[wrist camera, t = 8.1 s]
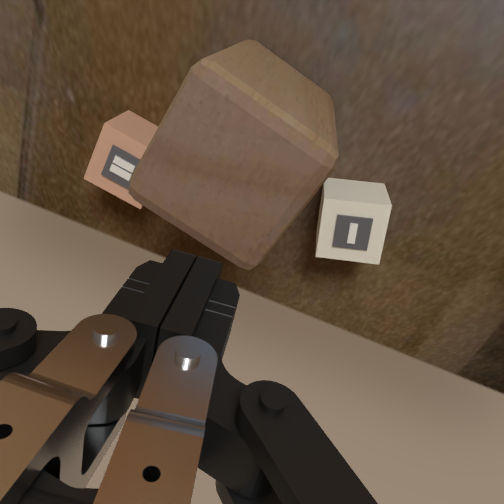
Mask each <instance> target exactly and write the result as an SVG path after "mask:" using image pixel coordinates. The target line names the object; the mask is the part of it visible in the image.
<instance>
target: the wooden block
mask: <svg viewBox="0 0 504 504" xmlns="http://www.w3.org/2000/svg"><path fill="white" fill-rule="evenodd" d="M338 157H339V153H338V144H337V134H336V124H335V114H334V104H333V100H332V99H331V97H330V95H329V94H328V93H327V92H325V91H324V90H323V89H321V88H320V87H318V86H317V85H316V84H314V83H313V82H312V81H310V80H309V79H308V78H306V77H305V76H303V75H302V74H301V73H299V72H298V71H297V70H295V69H294V68H293V67H291V66H290V65H288V64H287V63H286V62H284V61H283V60H282V59H280V58H279V57H278V56H276V55H275V54H273V53H272V52H271V51H269V50H268V49H267V48H265V47H264V46H263V45H261V44H260V43H258V42H257V41H254V40H250V39H247V40H245V41H242V42H240V43H238V44H235V45H233V46H231V47H228V48H226V49H224V50H222V51H219V52H217V53H215V54H212V55H210V56H208V57H205V58H203V59H201V60H200V61H199V62H197V63H196V64H195V65H193V66H192V67H191V69H190V70H189V72H188V74H187V76H186V78H185V79H184V81H183V83H182V85H181V87H180V89H179V90H178V92H177V94H176V96H175V98H174V99H173V101H172V103H171V105H170V107H169V109H168V110H167V112H166V114H165V116H164V118H163V119H162V121H161V123H160V125H159V127H158V129H157V130H156V132H155V134H154V136H153V138H152V139H151V141H150V143H149V145H148V147H147V149H146V150H145V152H144V154H143V156H142V158H141V159H140V161H139V163H138V165H137V167H136V169H135V170H134V172H133V174H132V176H131V178H130V183H129V192H128V193H129V194H130V195H131V196H132V198H133V199H134V200H135V201H137V202H138V203H140V204H141V205H143V206H145V207H146V208H148V209H149V210H151V211H152V212H154V213H155V214H157V215H159V216H160V217H162V218H163V219H165V220H166V221H168V222H170V223H171V224H173V225H174V226H176V227H177V228H179V229H180V230H182V231H184V232H185V233H187V234H188V235H190V236H191V237H193V238H195V239H196V240H198V241H199V242H201V243H202V244H204V245H205V246H207V247H209V248H210V249H212V250H213V251H215V252H216V253H218V254H220V255H221V256H223V257H224V258H226V259H227V260H229V261H230V262H232V263H234V264H235V265H237V266H238V267H240V268H243V269H246V270H250V269H252V268H253V267H255V266H257V265H258V264H260V263H261V262H262V261H263V259H264V258H265V257H266V256H267V254H268V253H269V252H270V251H271V249H272V248H273V247H274V246H275V244H276V243H277V242H278V240H279V239H280V238H281V237H282V235H283V234H284V233H285V232H286V230H287V229H288V228H289V227H290V225H291V224H292V223H293V221H294V220H295V219H296V218H297V216H298V215H299V214H300V213H301V211H302V210H303V209H304V208H305V206H306V205H307V204H308V202H309V201H310V200H311V199H312V197H313V196H314V195H315V194H316V192H317V191H318V190H319V189H320V187H321V186H322V185H323V184H324V182H325V181H326V180H327V178H328V177H329V176H330V175H331V173H332V172H333V171H334V170H335V168H336V164H337V161H338Z"/></svg>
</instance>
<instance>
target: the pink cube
mask: <svg viewBox="0 0 504 504" xmlns="http://www.w3.org/2000/svg"><path fill="white" fill-rule="evenodd" d="M157 129H158V127H157V126H156V125H154V124H152V123H150V122H149V121H147V120H145V119H143V118H142V117H140V116H138V115H136V114H135V113H133V112H131V111H129V110H128V111H126V112H124V113H122V114H120V115H118V116H117V117H115V118H113V119H111V120H109V121H107V122H105V123H104V126H103V128H102V131H101V134H100V136H99V139H98V141H97V144H96V147H95V149H94V152H93V155H92V157H91V160H90V163H89V165H88V168H87V171H86V173H85V176H84V179H85V180H87V181H89V182H91V183H93V184H95V185H96V186H98V187H100V188H102V189H104V190H106V191H107V192H109V193H111V194H113V195H115V196H117V197H118V198H120V199H122V200H124V201H126V202H128V203H130V204H131V205H133V206H135V207H137V208H139V209H141V208H142V207H143V205H141V204H140V203H138V202H137V201H135V200H134V199H133V198H132V196H131V195H130V194H129V193H128V192H129V183H130V178H131V176H132V174H133V172H134V170H135V169H136V167H137V165H138V163H139V161H140V159H141V158H142V156H143V154H144V152H145V150H146V149H147V147H148V145H149V143H150V141H151V139H152V138H153V136H154V134H155V132H156V130H157Z"/></svg>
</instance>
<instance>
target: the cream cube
mask: <svg viewBox="0 0 504 504" xmlns="http://www.w3.org/2000/svg"><path fill="white" fill-rule="evenodd" d="M391 208H392V205H391V202H390V199H389V196H388V193H387V190H386V187H385V184H382V183H372V182H363V181H354V180H344V179H335V178H327V180H326V181H325V182H324V184H323V188H322V195H321V202H320V209H319V216H318V223H317V230H316V257H321V258H329V259H337V260H346V261H354V262H362V263H371V264H379V262H380V258H381V253H382V249H383V244H384V240H385V235H386V230H387V226H388V221H389V217H390V212H391Z"/></svg>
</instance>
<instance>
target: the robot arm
mask: <svg viewBox="0 0 504 504" xmlns="http://www.w3.org/2000/svg"><path fill="white" fill-rule="evenodd" d="M222 267H223V262H220V261H216V260H212V259H209V258H205V257H201V256H198V258H197V255H194V254H190V253H187V252H183V251H179V250H176V249H172V250H171V252H170V253H169V255H168V256H167V258H166V259H165V261H164V262H163V264H162V263H159V262H155V261H151V260H150V261H148V262H146V263H144V264H142V265H140V266H138V267H137V268H136V269H135V270H134V271H133V273H132V274H131V275H130V277H129V279H127V281H126V282H125V283H124V285H123V287H122V288H121V289H120V290H119V291H118V293H117V294H116V295H115V297H114V298H113V300H112V301H111V302H110V304H109V305H108V306H107V307H106V309H105V310H104V312H103V313H102V314H98V315H93V316H89V317H87V318H85V319H83V320H82V321H80V322H79V323H78V324H77V325H76V326H75V327H74V329H72V330H71V331H42V330H37V324H36V321H35V319H34V318H33V317H32V316H31V315H30V314H29V313H27V312H25V311H22V310H18V309H13V308H0V504H190V503H191V498H192V493H193V488H194V483H195V478H196V473H197V468H199V469H201V470H202V471H204V472H205V473H207V474H208V475H210V476H211V477H213V478H214V479H216V490H217V492H218V495H219V497H220V499H221V501H222V503H223V504H377V502H376V501H375V499H374V498H373V497H372V495H371V494H370V493H369V491H368V490H367V489H366V487H365V486H364V485H363V483H362V482H361V481H360V479H359V478H358V477H357V475H356V474H355V473H354V471H353V470H352V469H351V468H350V466H349V465H348V463H347V462H346V461H345V459H344V458H343V457H342V455H341V454H340V453H339V451H338V450H337V449H336V447H335V446H334V445H333V443H332V442H331V441H330V439H329V438H328V437H327V435H326V434H325V433H324V431H323V430H322V429H321V427H320V426H319V425H318V423H317V422H316V421H315V419H314V418H313V417H312V415H311V414H310V413H309V411H308V410H307V409H306V407H305V406H304V405H303V403H302V402H301V401H300V399H299V398H298V397H297V396H296V394H295V393H294V392H293V391H291V390H290V389H289V388H287V387H286V386H284V385H282V384H279V383H277V382H273V381H265V380H263V381H256V382H253V383H251V384H249V385H245V384H243V383H241V382H239V381H238V380H237V379H235V378H234V377H233V376H231V375H230V374H229V373H228V371H227V370H226V369H225V367H224V365H223V363H222V358H223V354H224V351H225V348H226V345H227V341H228V338H229V334H230V331H231V327H232V323H233V319H234V315H235V311H236V308H237V304H238V300H239V296H240V295H239V292H238V289H237V286H236V283H232V282H228V281H225V280H221V279H220V276H221V272H222ZM134 398H138V399H139V400H138V403H137V405H136V408H135V410H132V409H131V410H130V412H129V414H128V416H127V418H126V412H127V410H128V409H129V407H130V405H131V403H132V401H133V399H134ZM125 418H126V421H125ZM124 421H125V423H124ZM123 424H124V426H123ZM122 426H123V428H122V431H121V433H120V436H119V438H118V441H117V444H116V446H115V449H114V451H113V454H112V456H111V459H110V461H109V464H108V466H107V469H106V472H105V475H104V477H103V480H102V482H101V484H100V487H99V489H90V488H85V487H86V485H87V484H88V482H89V480H90V479H91V477H92V475H93V474H94V472H95V470H96V469H97V467H98V465H99V464H100V462H101V460H102V459H103V457H104V455H105V454H106V452H107V450H108V449H109V447H110V446H111V444H112V442H113V441H114V439H115V437H116V436H117V434H118V432H119V431H120V429H121V427H122Z"/></svg>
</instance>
